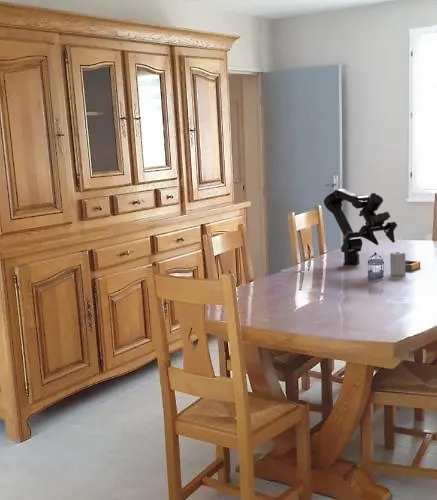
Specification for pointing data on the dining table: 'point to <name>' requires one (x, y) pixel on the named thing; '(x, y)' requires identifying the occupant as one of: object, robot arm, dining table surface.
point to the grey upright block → (397, 263)
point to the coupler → (411, 265)
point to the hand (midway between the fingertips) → (386, 243)
